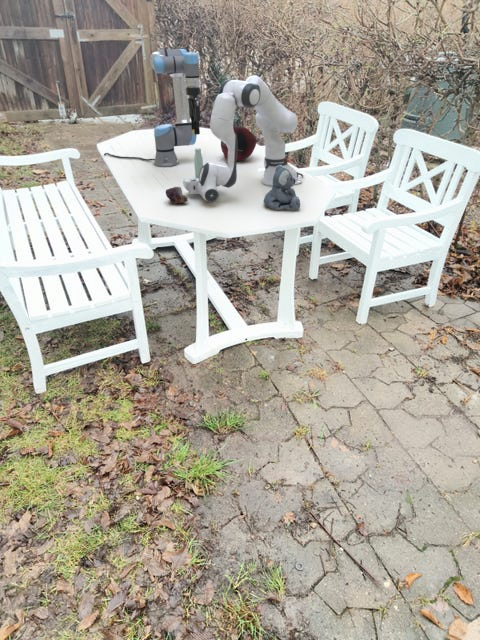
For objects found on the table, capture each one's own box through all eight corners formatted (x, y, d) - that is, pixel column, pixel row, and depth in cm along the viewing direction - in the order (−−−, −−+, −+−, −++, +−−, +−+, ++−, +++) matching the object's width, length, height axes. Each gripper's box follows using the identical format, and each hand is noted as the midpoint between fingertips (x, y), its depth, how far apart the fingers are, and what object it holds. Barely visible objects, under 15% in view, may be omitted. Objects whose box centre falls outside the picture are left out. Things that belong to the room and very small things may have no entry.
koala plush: (301, 211, 222) (304, 171, 211) (265, 212, 221) (266, 172, 210) (295, 199, 236) (297, 161, 225) (261, 200, 235) (262, 162, 224)
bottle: (199, 191, 248) (197, 150, 236) (194, 189, 251) (191, 148, 238) (205, 190, 251) (203, 148, 238) (200, 188, 253) (198, 147, 241)
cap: (199, 133, 249) (199, 130, 248) (191, 134, 249) (191, 130, 248) (200, 132, 252) (199, 129, 251) (192, 132, 252) (192, 129, 251)
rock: (181, 200, 240) (163, 203, 236) (179, 183, 237) (161, 186, 232) (189, 203, 231) (171, 206, 227) (188, 186, 227) (169, 189, 223)
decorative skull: (217, 132, 306) (217, 129, 282) (251, 124, 305) (253, 121, 281) (224, 164, 313) (224, 164, 289) (257, 157, 312) (260, 156, 288)
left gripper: (181, 85, 243) (184, 131, 256) (191, 89, 230) (194, 137, 243) (194, 84, 245) (197, 129, 258) (205, 88, 232) (207, 135, 245)
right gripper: (223, 178, 238) (217, 170, 248) (185, 181, 233) (180, 174, 244) (223, 189, 241) (217, 182, 252) (186, 193, 236) (181, 185, 247)
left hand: (195, 133), depth 250 cm, fingers closed on cap, 4 cm apart
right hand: (199, 178), depth 248 cm, fingers closed on bottle, 4 cm apart
